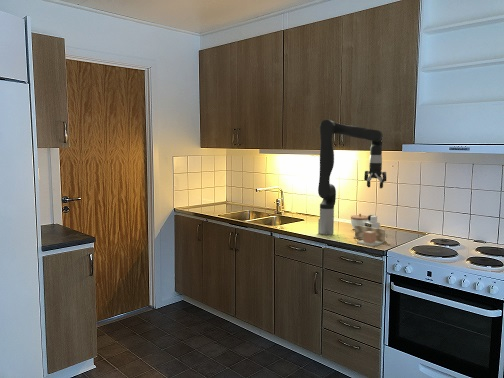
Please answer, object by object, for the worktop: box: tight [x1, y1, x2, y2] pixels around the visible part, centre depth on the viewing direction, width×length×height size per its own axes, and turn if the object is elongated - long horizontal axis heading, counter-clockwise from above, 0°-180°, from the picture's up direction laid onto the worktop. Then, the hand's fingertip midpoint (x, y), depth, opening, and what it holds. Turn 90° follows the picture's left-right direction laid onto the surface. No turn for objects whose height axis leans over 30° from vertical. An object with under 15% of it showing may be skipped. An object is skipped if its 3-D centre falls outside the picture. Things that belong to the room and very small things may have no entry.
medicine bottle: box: [365, 214, 381, 229], centre depth 288 cm, size 7×7×12 cm
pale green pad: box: [356, 239, 383, 247], centre depth 258 cm, size 11×10×1 cm
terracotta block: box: [364, 231, 376, 243], centre depth 258 cm, size 5×5×6 cm
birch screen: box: [353, 225, 387, 244], centre depth 267 cm, size 20×5×8 cm, turn 44°
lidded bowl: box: [350, 213, 369, 230], centre depth 299 cm, size 13×13×11 cm
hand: (374, 187), depth 271 cm, fingers open, 8 cm apart
